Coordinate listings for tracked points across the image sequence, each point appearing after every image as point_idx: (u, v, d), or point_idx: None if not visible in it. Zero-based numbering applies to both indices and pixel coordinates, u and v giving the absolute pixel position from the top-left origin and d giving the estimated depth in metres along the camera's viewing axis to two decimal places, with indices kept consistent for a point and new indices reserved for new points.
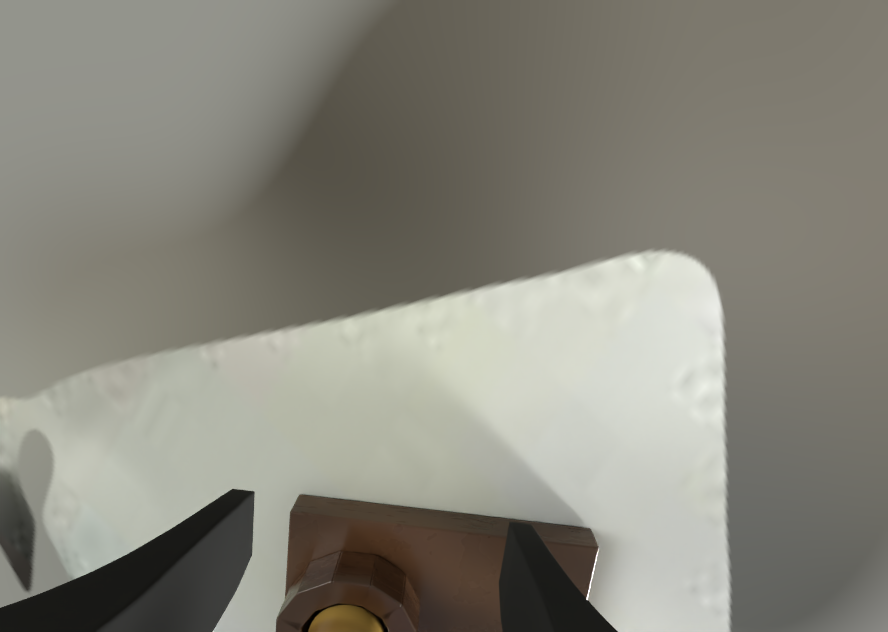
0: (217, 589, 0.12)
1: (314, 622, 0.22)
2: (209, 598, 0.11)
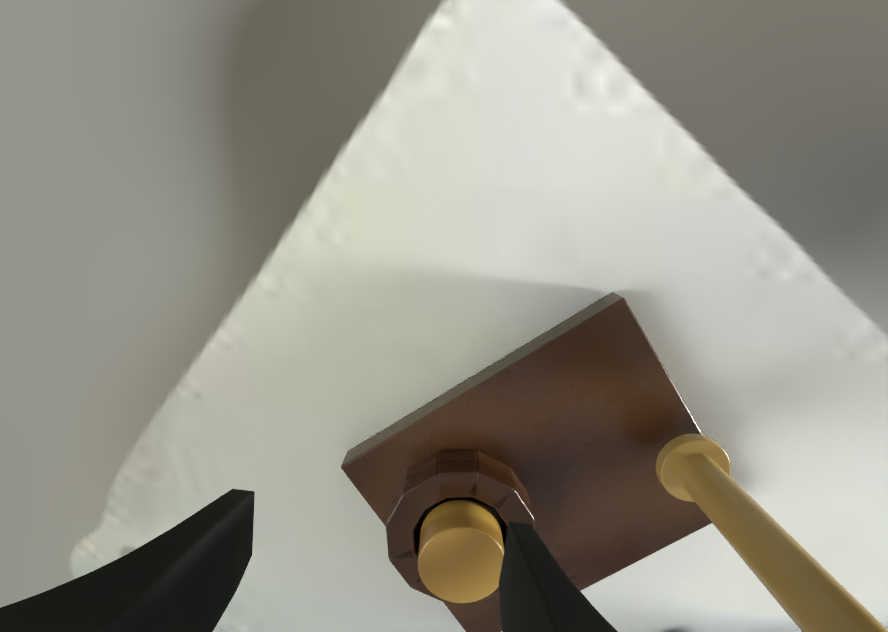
0: (217, 589, 0.12)
1: None
2: (209, 598, 0.11)
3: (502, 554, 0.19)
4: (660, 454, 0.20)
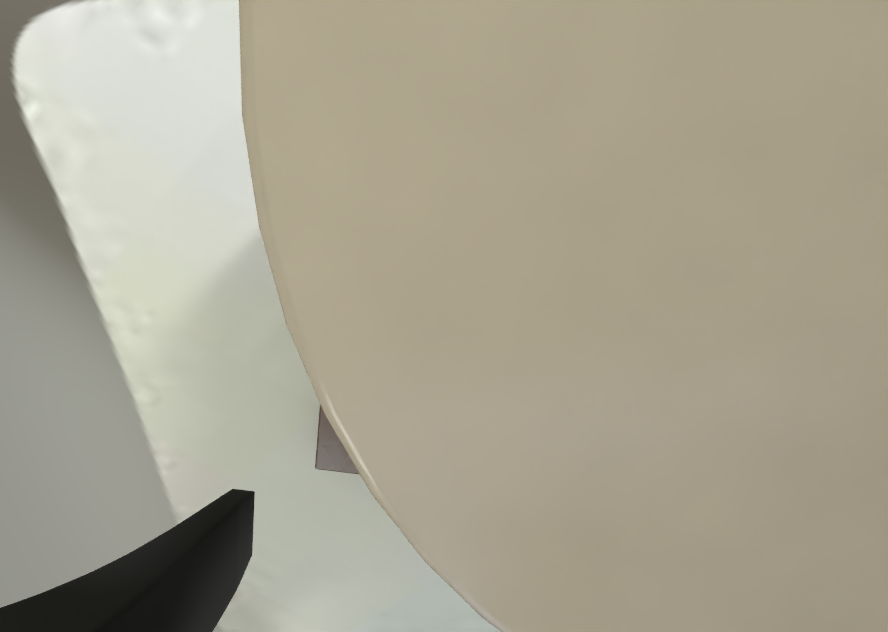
0: (217, 589, 0.12)
1: None
2: (209, 598, 0.11)
3: None
4: None
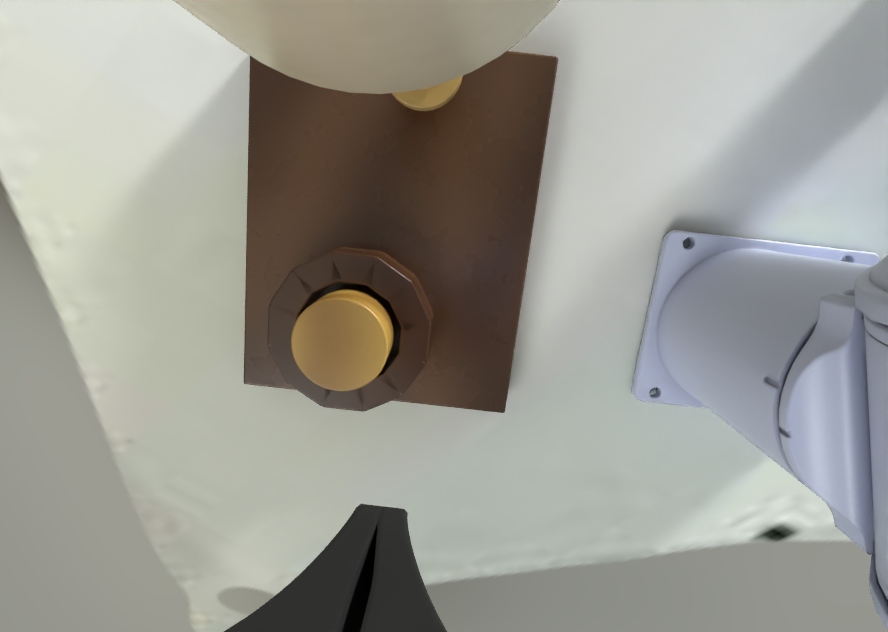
0: (362, 606, 0.12)
1: None
2: (359, 615, 0.11)
3: (352, 302, 0.17)
4: None
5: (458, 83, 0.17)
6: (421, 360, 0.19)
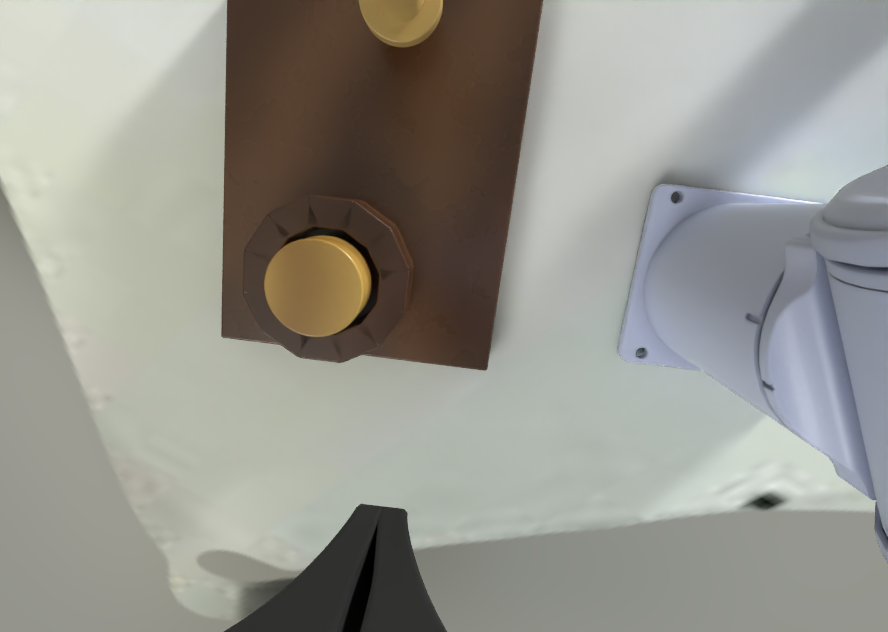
0: (362, 606, 0.12)
1: None
2: (359, 615, 0.11)
3: (326, 243, 0.17)
4: (366, 23, 0.17)
5: (437, 16, 0.16)
6: (399, 310, 0.19)
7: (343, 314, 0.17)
